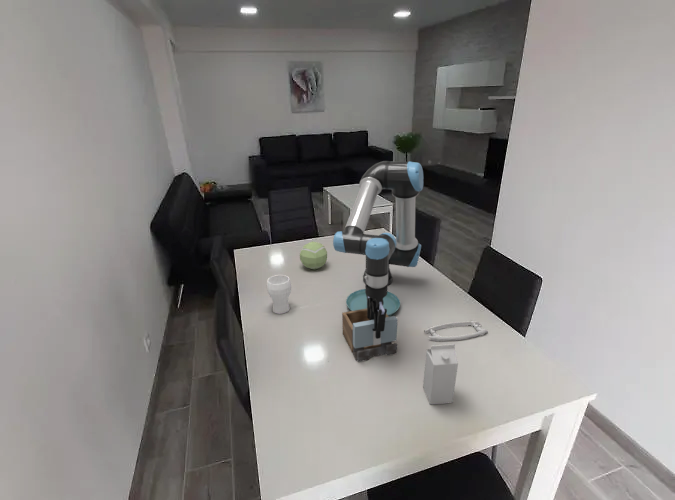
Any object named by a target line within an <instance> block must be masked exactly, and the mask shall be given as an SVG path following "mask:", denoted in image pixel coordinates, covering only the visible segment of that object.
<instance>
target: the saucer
mask: <svg viewBox="0 0 675 500" xmlns="http://www.w3.org/2000/svg"><path fill="white" fill-rule="evenodd" d="M383 302H384V304H383V308H384V309H387V313H386V314H387V315H388V316H389V317H391V316H392V315H393V316H394V314H396V312H397V311H398V310H399V309H400V306H401V300H400V299H399V297H398V296H397V295H395V294H394V293H393V292H391V291H389V290H387V295H386V296H385V297H384V298H383ZM345 304H346V306H347V308H348V309H349V311H355V310H361V309H366V308H367V297H366V293H365V288H362V289H358V290H355V291H353V292H351V293H350V294H349V295H348V296H347V297H346V299H345Z"/></svg>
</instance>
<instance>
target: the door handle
mask: <svg viewBox="0 0 675 500" xmlns="http://www.w3.org/2000/svg"><path fill="white" fill-rule="evenodd" d="M465 325H467V326H465ZM468 325H472V326H474V327H473V328H474V329H475V330H476V331H475V332H472V333H467V334H462V335H451V336H450V335H448V336H447V335H446V336H441V335H440V334H438V333H437V332H436V331H440V330H443V329H447V327H449V328H455V327H454V326H456V327H469V326H468ZM479 325H481V326H479ZM472 326H471V327H472ZM423 332H424V334H431V335H428V339H429V340H430V341H433V342H454V341H457V342H458V341H465V340H468V339H469V340H470V339H473V338H476V337H480V336H479V335H482V336H484V335H485V334H487V333H488V332H489V331H488V329H486V328H482V324H481V323H480V322H479V321H476V320H474V321H473V320H471V321H456V322H455V321H453V322H447V323H442V324H438V325H434V326H430V327H428V328H426V329H425V330H423Z"/></svg>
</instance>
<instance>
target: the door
mask: <svg viewBox="0 0 675 500" xmlns="http://www.w3.org/2000/svg"><path fill="white" fill-rule="evenodd" d="M398 320H399V319H398V318H397V316H395V315H393V316H392V315H391V316H389V317H386V318H385V327H384V331H381V343H386V342H392V343H393V342H395V341H397V339H398V338H397V336H398V335H397V334H398ZM372 329H374V320H369V321H363V322H357V323H353V346H354V348H355V349H356V348H361V347H366V346H371V345H373V330H372Z"/></svg>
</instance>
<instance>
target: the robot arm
mask: <svg viewBox="0 0 675 500" xmlns="http://www.w3.org/2000/svg"><path fill="white" fill-rule="evenodd" d="M358 187H359V190H358V193H357V196H356V199H355V201H354V203H353V206H352V208H351V210H350V214H349V217H348V219H347V222H346V225H345V227H344V229H343V231H336V232H335V233H334V235H333V241H332V242H333V243H332V245H333V249H334V250H335V251H336V252H339V253H343V254H354V255H363V256H365V270H364V272H363V276H362V281H363V283H364V284H365V285H364V286H365V288H364V289H365V293H366V297H367V318H368V319H369V320H374V329H372V330H373V345H378V344H381V331H384V327H385V317H386V313H387V309H384V308H383V304H384V302H383V298H384V297H385V296H386V295H387V291H389V290H388V286H390V284H392V283H393V275H392V271H391V269H390V265H392V266H400V267H407V268H415V267H417V266H418V262H419V260H420V259H419V258H420V254H421V249H422V244H420V243H419V241H418V239H417V238H416V199H417V198H416V197H417V196H418V195H420V192H421V191H423V189H424V170H423V167H422V165H421V163H420V162H414V161H390V160H383V161H380V162H376V163H375V164H373V165H372V166H370V167H369V168H368V169H367V170H366V172H365V173H364V174H363V175H362V176H361V179H360V181H359V184H358ZM382 190H391V195H392V196H393V197H394V198H395V232H396V233H395V234H396V236H395V235H394V234H392V233H389V232H383V233H380V234H379V235H377V234H368V233H367V234H366V233H365V232H366V228H367V225H368V223H369V220H370V218H371V217H370V216H371V215H372V211H373V208H374V205H375V203H376V200H377V197H378V195H379V194H381V192H382Z"/></svg>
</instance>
